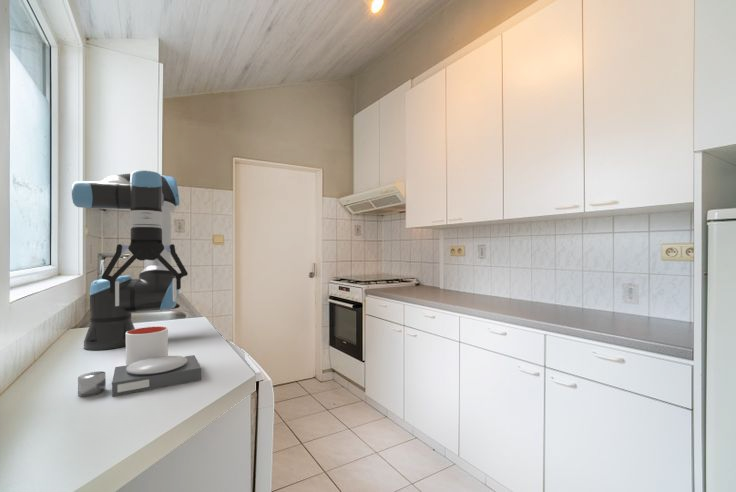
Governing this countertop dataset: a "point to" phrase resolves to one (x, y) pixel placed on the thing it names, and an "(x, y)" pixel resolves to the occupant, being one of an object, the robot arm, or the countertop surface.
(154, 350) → the cup
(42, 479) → the countertop surface
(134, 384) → the scale
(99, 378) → the cylinder
